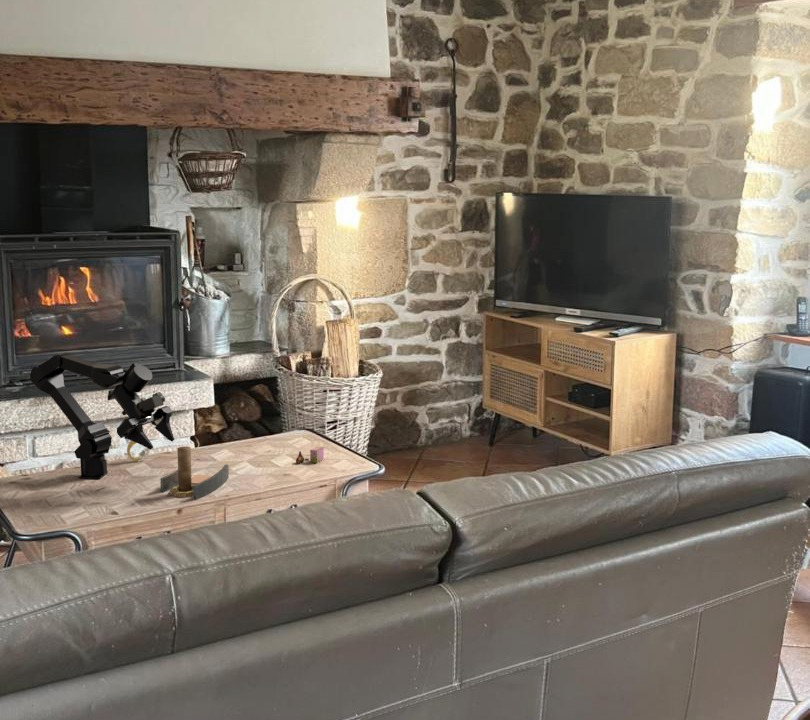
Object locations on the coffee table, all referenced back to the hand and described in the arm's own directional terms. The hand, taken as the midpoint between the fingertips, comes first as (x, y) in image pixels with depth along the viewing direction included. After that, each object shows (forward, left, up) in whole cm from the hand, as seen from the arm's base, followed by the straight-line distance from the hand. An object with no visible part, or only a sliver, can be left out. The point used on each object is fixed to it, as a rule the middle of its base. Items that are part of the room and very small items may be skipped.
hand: (162, 444), depth 274 cm
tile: (+9, +9, -13) cm, 18 cm away
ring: (-17, +25, -13) cm, 33 cm away
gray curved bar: (+8, +2, -13) cm, 15 cm away
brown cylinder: (+7, -3, -13) cm, 15 cm away
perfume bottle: (+37, +30, -14) cm, 50 cm away
